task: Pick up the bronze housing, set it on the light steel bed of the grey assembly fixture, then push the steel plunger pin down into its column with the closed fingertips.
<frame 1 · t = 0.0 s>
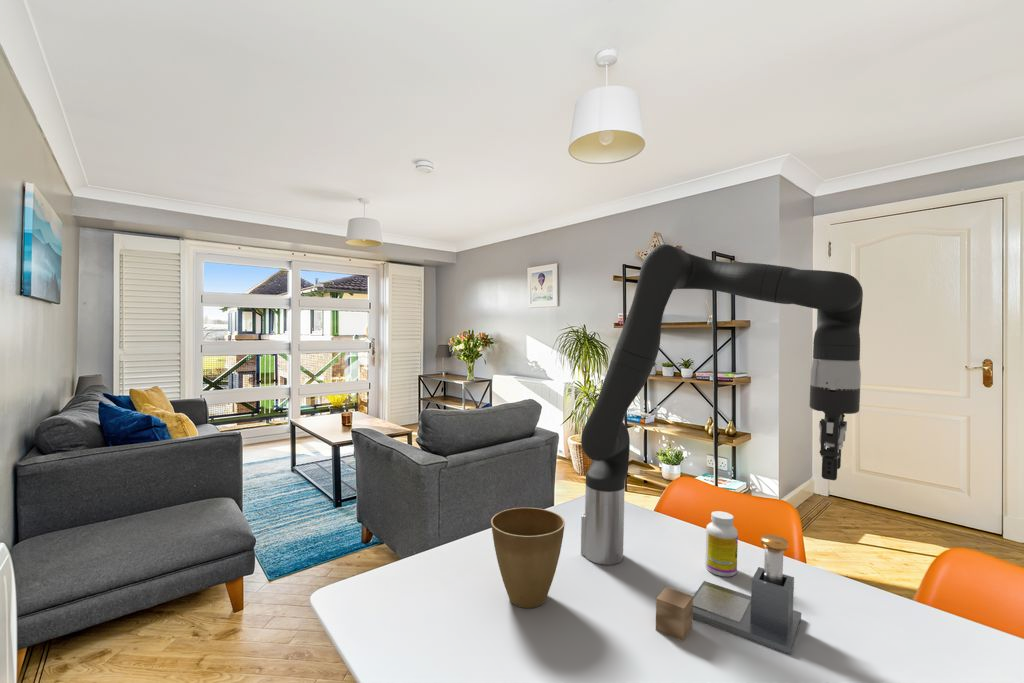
hand: (831, 473, 87), 29 cm above the table, fingers open, 8 cm apart
supplement bottle: (720, 571, 110), on the table
plunger: (773, 568, 89), point 11 cm above the table, slide at 0.0 cm
grey assembly fixture: (742, 616, 92), on the table
bronze housing: (673, 629, 88), on the table
plant pot: (526, 598, 98), on the table
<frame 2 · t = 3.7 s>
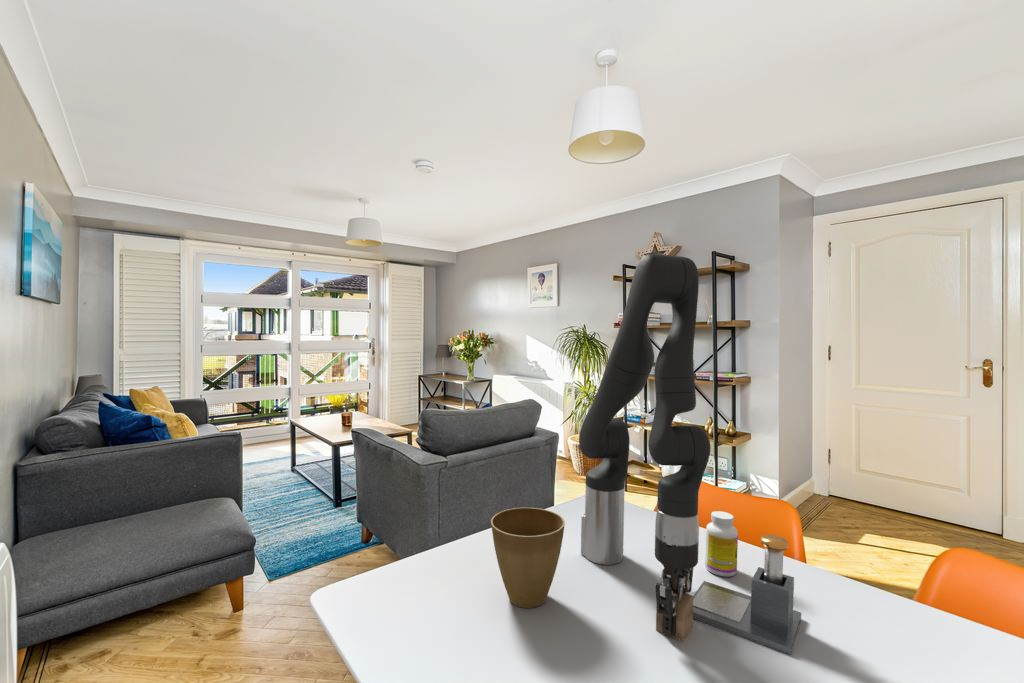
hand: (674, 625, 88), 1 cm above the table, fingers closed on bronze housing, 5 cm apart
bronze housing: (674, 628, 88), on the table, touching gripper
everything else where it was.
when the fingers open (3 cm above the table, at t = 8.6 s): bronze housing stays where it is, resting on grey assembly fixture.
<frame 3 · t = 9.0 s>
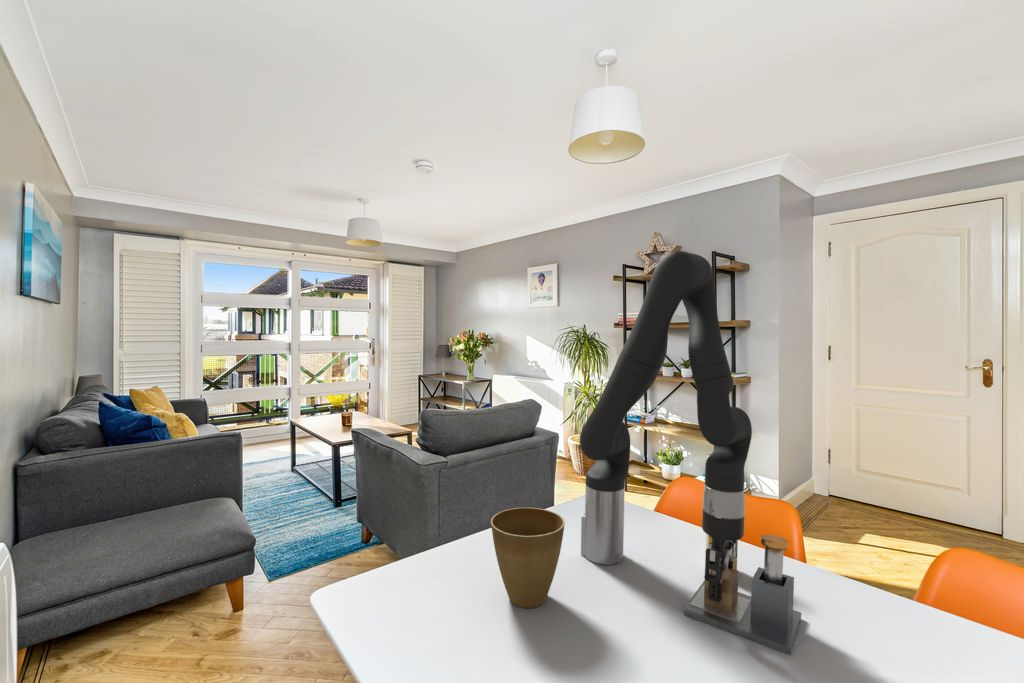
hand: (720, 590, 95), 4 cm above the table, fingers open, 8 cm apart
bronze housing: (720, 602, 95), point 1 cm above the table, touching grey assembly fixture
everything else where it was.
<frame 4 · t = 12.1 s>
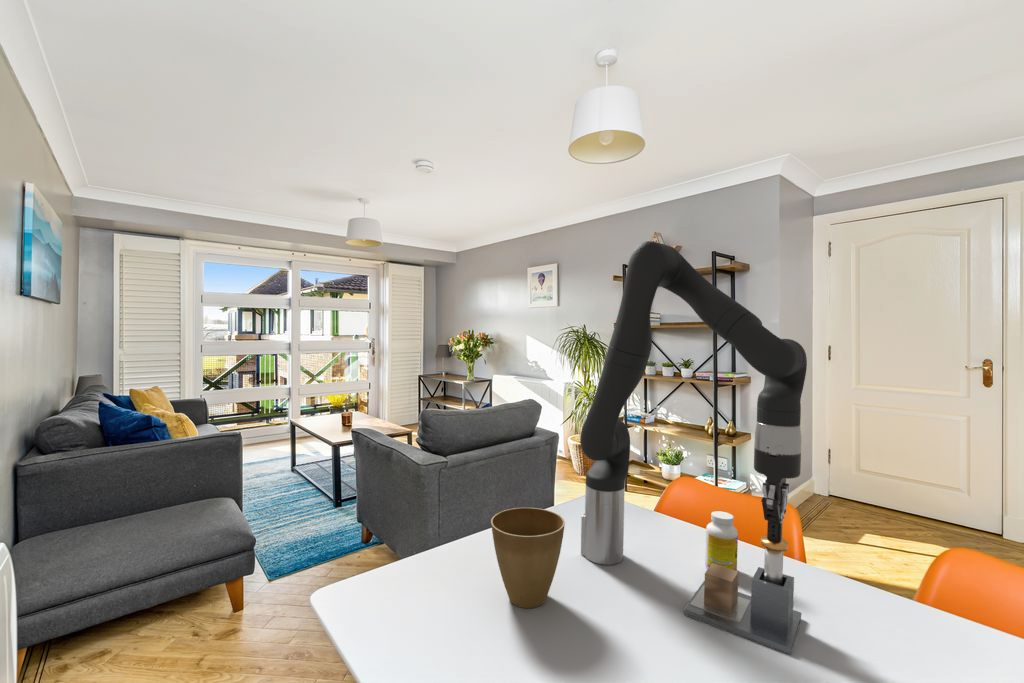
hand: (774, 540, 89), 16 cm above the table, fingers closed
plunger: (773, 569, 89), point 11 cm above the table, slide at 0.2 cm, touching gripper
everything else where it was.
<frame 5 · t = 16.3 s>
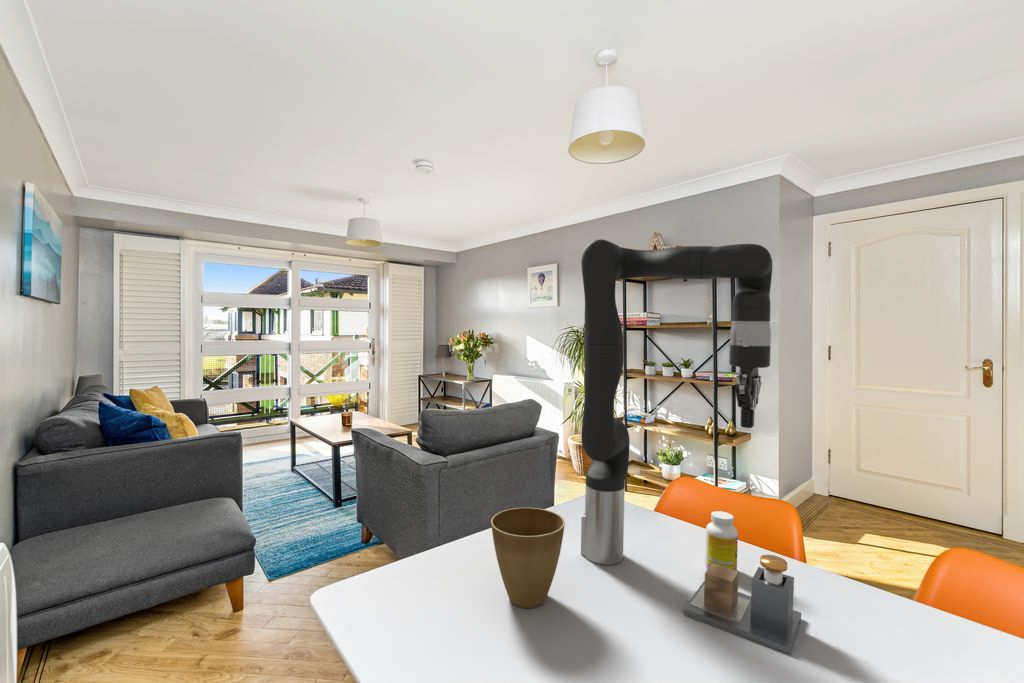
hand: (747, 427, 99), 35 cm above the table, fingers closed
plunger: (772, 589, 89), point 7 cm above the table, slide at 3.9 cm
everything else where it was.
at the end: bronze housing inside the target area on the grey assembly fixture (0.1 cm from its centre), point 1.3 cm above the grey assembly fixture's base; bronze housing tilted 0°; plunger slide at 3.9 cm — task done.
